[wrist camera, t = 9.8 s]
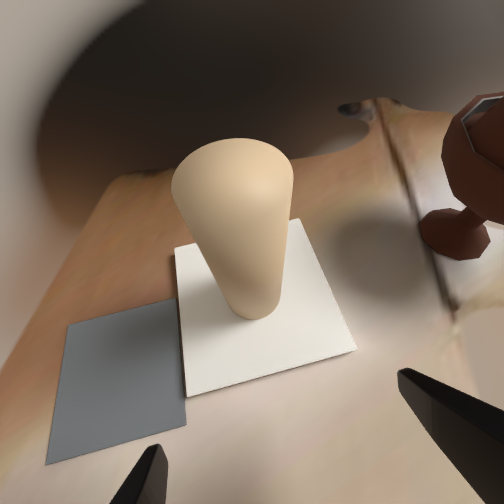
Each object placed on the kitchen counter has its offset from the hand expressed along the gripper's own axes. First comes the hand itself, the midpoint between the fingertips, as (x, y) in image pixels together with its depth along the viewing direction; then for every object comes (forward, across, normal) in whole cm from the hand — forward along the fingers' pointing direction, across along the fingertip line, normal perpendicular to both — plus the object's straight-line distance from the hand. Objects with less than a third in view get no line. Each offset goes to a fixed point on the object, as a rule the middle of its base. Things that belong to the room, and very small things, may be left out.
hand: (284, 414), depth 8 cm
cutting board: (+12, 0, 0) cm, 12 cm away
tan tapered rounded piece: (+11, 0, 0) cm, 11 cm away
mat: (+10, +11, +3) cm, 15 cm away
